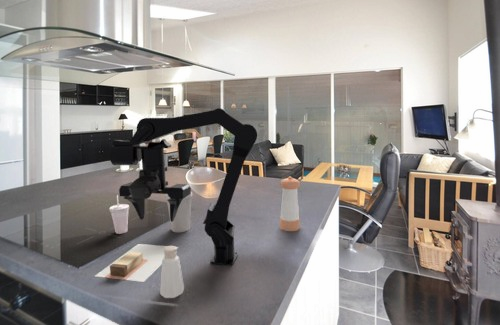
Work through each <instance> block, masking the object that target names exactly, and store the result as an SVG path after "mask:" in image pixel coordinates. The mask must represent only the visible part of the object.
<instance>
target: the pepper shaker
mask: <svg viewBox="0 0 500 325" xmlns="http://www.w3.org/2000/svg"><path fill="white" fill-rule="evenodd" d="M166 246H167V247H165V248H164V256H165V257H164V258H163V260H162V265H161V270H160V271H161V274H160V291H159V293H160V294H159V295H161V296H162V297H163V298H164V299H175V298H176V297H178V296H181V295H182V294H183V293H184V290H185V284H184V278H183V272H182V268H181V262H180V261H181V260H180V256H178V255H177V250H176V249H177V248H176V247H177V246H175V245H166Z"/></svg>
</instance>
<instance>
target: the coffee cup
mask: <svg viewBox="0 0 500 325" xmlns="http://www.w3.org/2000/svg"><path fill="white" fill-rule="evenodd" d="M164 195H165V197H164V198H166V204H167V209H168V216H169V218H170V204H169V202H168V199H170V197H169V196H168V194H164ZM192 196H194V194H193V192H192V191H191V194H190V195H188V196H187V197H185V198H184V199H182V201H181V203H180V205H179V208H178V210H177V213H176V216H175V219H174V221H173V222H171V220H170V219H169V221H170V229H171V232H173V233H184V232H188V231H189V230H190V229H191V212H192V210H191V209H192V208H191V207H192V206H191V205H192Z"/></svg>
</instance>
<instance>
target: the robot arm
mask: <svg viewBox="0 0 500 325" xmlns="http://www.w3.org/2000/svg"><path fill="white" fill-rule="evenodd" d="M212 125H218V126H220V127H221V128H223V129H224V130H226V131H228V132H229V133H230V134H232V136H234V140H233V146H232V155H231V158H230V162H229V165H228V166H227V167H228V168H227V171H226V174H225V177H224V180H223V183H222V185H221V189H220V192H219V195H218V198H217V200H216V202H215V204H213V203H210V204H209V206H208V207H207V210H206V215H205V218H204V219H203V223H202V224H203V225H204V232H205V233H206V235H207V236H208V237H210V238H211V241H212V243H213V256H212V258H211V260H210V261H209V262H210V264H214V265H215V264H216V265H226V266H233V265H234V263H235V261H236V259H237V257H238V256H239V253H238V252H235V236H234V235H235V225H234V224H233V223H232V222H230V220H228V219H229V218H228V217H229V210H230V206H231V202H232V199H233V196H234V194H235V190H236V187H237V184H238V181H239V179H240V175H241V173H242V170H243V166H244V163H245V161H246V159H247V158H248V155H249V153H250V152H251V150H252V149H253V147H254V145H255V143H256V141H257V139H258V132H257V130H256V128H255V127H254V126H253V125H252V124H249V123H242V122H240V121H239V120H238V119H236V118H235V117H234V116H232V115H230V114H229V113H228V112H227V111H226V110H225V109H223V108H220V107H219V108H215V109H213V110H208V111H207V110H206V111H201V112H195V113H191V114H186V115H181V116H175V117H174V116H173V117H145V118H141V119H140V120H139V121H138V123H137V126H136V131H135V132H134V134H133V135H132V137H131V138H130V139H129V140H122V139H115V140H112V146H111V148H110V150H109V151H110V153H109V159H110V160H109V161H110V162H111V165H113V166H137V165H138V164H139V162H141V165H142V166H141V167H142V169H140V170H139V172H138V174H139V175H138V178H136V179H134V181H133V182H132V181H130V182H128V183H125V184H122V185H120V186H119V189H118V197H123V199H124V200H127V201H129V202H130V203H131V204H132V206H133V208H134V209H135V211H136V213H137V216H138V218H139V219H140V220H141V221H142V220H143V219H144V218H145V212H146V211H145V208H146V207H145V202H146V200H147V199H150V197H151V196H152V194H157V195H159V194H161V195H162V194H163V195H166V194H168V196H169V197H170V199H168V202H169V204H170V217H169V221H170V220H171V222H173V221H174V219H175V216H176V213H177V210H178V208H179V205H180V203H181V201H182V199H184V198H185V197H187V196H188V195H190V194H191V192H192V188H191V186H190V185H189V183H176V184H173V185H171V186H168V185H169V181H166V172H168V167H167V166H166V165H165V151H164V149H170V148H172V145H171V143H169V142H168V141H167V140H166V138H164V137H166V136H168V135H172V134H174V133H176V132H180V131H185V130H190V129H196V128H201V127H206V126H212ZM160 138H163V139H161V140H160V141H154V140H158V139H160ZM146 143H148V144H147V145H142V144H146Z"/></svg>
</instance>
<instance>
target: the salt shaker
mask: <svg viewBox="0 0 500 325" xmlns="http://www.w3.org/2000/svg"><path fill="white" fill-rule="evenodd" d="M300 186H301V183H300V181H299V180H298V179H296V178H294V177H293V176H288V177H287V178H283V179H281V181H280V187H281V189H282V193H281V194H282V198H281V199H282V200H281V203H280V204H281V205H280V217H279V228H280V229H281V230H282V231H284V232H285V231H286V232H295V231H298V230H299V229H301V228H300V226H301V225H300V217H299V215H300V208H299V201H298V193H299V192H298V189H299V188H300Z"/></svg>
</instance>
